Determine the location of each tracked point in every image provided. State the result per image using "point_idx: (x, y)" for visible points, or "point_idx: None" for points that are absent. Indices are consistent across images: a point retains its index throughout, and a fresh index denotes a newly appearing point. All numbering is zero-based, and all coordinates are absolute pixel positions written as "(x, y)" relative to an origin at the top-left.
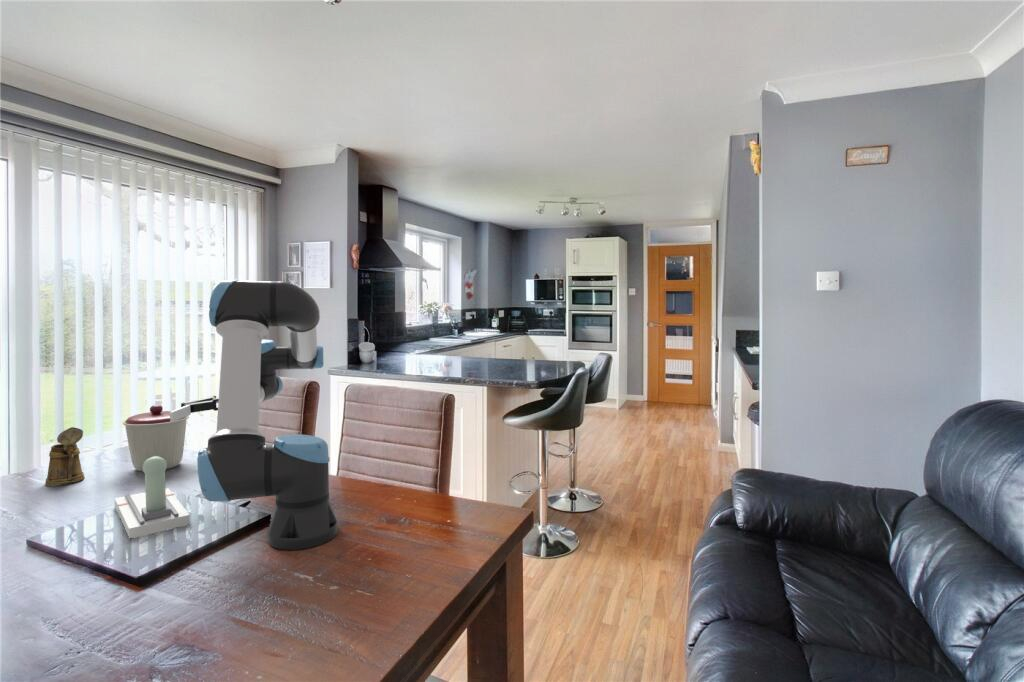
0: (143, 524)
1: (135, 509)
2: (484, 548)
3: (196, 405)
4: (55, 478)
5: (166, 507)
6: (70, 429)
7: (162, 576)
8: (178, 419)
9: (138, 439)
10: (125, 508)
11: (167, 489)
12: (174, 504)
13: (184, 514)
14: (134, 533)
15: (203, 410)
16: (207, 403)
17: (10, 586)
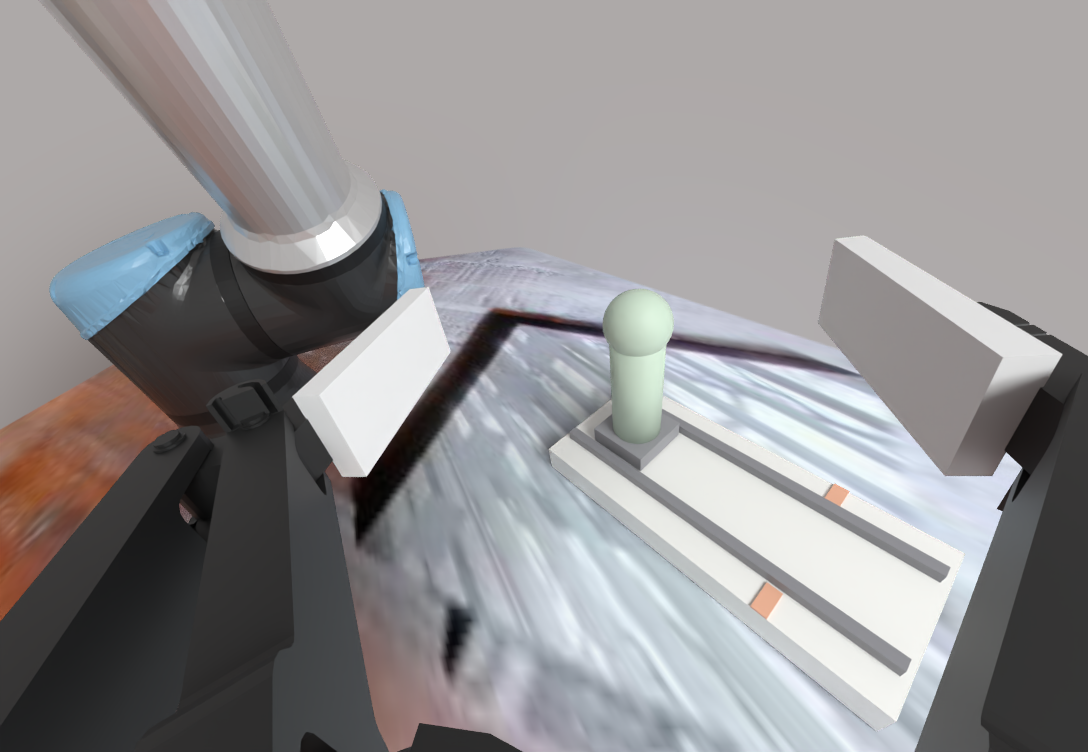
0: None
1: (715, 442)
2: (12, 429)
3: (1039, 469)
4: None
5: (612, 433)
6: None
7: (484, 329)
8: (843, 353)
9: None
10: (782, 469)
11: (868, 691)
12: (652, 510)
13: (563, 449)
14: None
15: (964, 634)
16: (1003, 624)
17: (668, 294)
